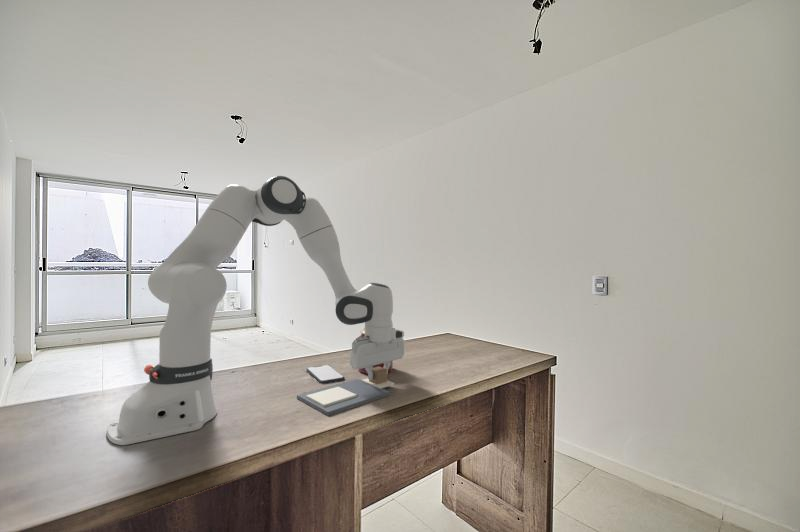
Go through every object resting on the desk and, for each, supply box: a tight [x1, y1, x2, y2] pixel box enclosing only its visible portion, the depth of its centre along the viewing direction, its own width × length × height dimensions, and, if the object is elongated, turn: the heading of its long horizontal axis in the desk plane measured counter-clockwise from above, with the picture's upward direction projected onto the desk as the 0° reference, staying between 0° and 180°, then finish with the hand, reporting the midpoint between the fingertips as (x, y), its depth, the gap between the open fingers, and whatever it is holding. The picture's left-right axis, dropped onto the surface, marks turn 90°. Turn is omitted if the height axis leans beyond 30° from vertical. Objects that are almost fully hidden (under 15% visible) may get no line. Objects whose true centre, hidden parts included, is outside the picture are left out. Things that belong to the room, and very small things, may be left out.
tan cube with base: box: [361, 367, 395, 389], centre depth 118 cm, size 6×9×4 cm, turn 45°
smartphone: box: [305, 364, 345, 384], centre depth 128 cm, size 9×2×16 cm
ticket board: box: [296, 378, 391, 417], centre depth 109 cm, size 22×16×2 cm
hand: (377, 377), depth 118 cm, fingers closed on tan cube with base, 4 cm apart
